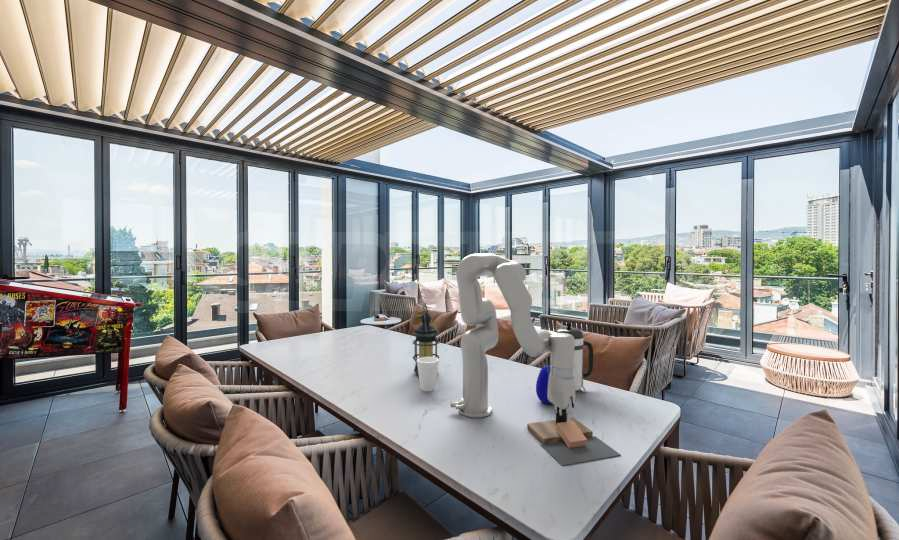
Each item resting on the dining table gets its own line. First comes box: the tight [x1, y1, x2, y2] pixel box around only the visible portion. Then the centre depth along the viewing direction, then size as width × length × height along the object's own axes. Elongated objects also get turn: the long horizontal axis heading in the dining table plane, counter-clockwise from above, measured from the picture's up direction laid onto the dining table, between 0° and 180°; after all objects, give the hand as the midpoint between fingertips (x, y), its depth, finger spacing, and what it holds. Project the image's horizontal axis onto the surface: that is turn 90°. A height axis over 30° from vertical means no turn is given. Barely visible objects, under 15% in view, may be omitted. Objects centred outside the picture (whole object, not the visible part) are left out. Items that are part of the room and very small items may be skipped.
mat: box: [540, 435, 621, 467], centre depth 119 cm, size 20×12×1 cm, turn 106°
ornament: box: [535, 365, 552, 405], centre depth 156 cm, size 11×9×15 cm
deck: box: [526, 417, 594, 445], centre depth 130 cm, size 18×11×2 cm, turn 106°
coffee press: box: [554, 321, 594, 394], centre depth 170 cm, size 17×16×30 cm
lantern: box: [412, 302, 440, 375], centre depth 191 cm, size 14×13×35 cm
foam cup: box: [417, 356, 440, 392], centre depth 170 cm, size 10×9×13 cm
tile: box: [556, 421, 587, 448], centre depth 123 cm, size 6×8×2 cm
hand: (561, 425), depth 129 cm, fingers closed
